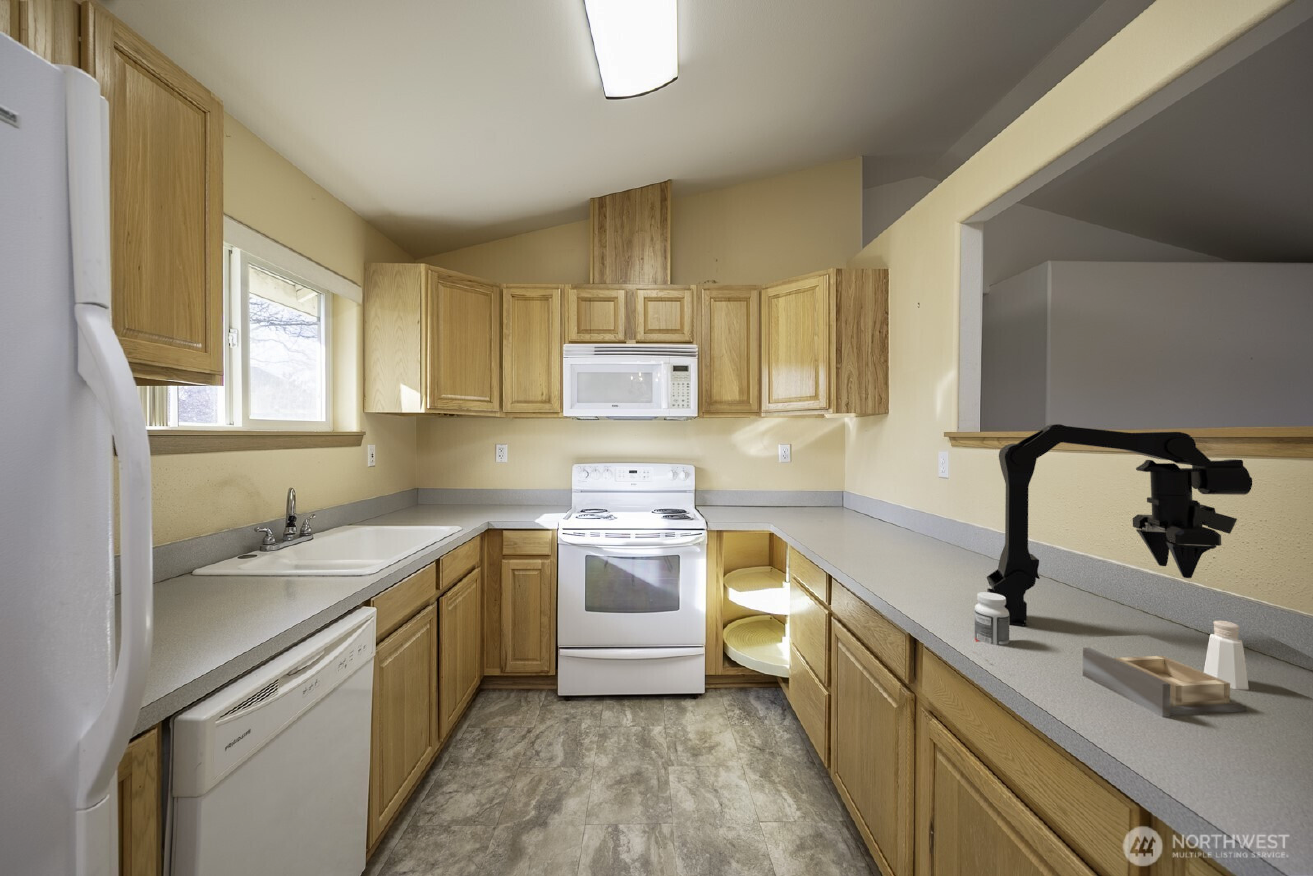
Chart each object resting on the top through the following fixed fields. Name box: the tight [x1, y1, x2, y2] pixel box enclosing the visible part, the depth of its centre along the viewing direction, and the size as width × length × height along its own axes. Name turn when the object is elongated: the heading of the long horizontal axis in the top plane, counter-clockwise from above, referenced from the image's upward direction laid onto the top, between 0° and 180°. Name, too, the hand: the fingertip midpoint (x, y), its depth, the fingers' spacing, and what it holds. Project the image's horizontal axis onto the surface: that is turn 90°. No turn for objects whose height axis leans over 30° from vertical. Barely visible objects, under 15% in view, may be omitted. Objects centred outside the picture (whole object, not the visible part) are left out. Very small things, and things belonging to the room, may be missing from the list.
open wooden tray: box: [1082, 646, 1247, 718], centre depth 79 cm, size 16×16×6 cm
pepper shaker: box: [1203, 619, 1249, 691], centre depth 80 cm, size 5×5×11 cm
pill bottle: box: [974, 591, 1010, 646], centre depth 97 cm, size 6×6×10 cm
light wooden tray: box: [1113, 655, 1231, 707], centre depth 77 cm, size 9×9×4 cm
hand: (1174, 571), depth 98 cm, fingers open, 9 cm apart
